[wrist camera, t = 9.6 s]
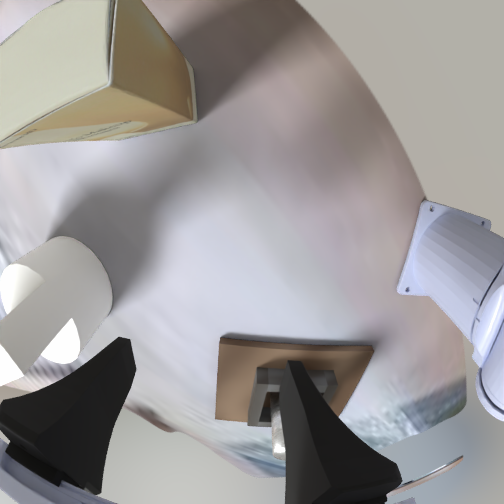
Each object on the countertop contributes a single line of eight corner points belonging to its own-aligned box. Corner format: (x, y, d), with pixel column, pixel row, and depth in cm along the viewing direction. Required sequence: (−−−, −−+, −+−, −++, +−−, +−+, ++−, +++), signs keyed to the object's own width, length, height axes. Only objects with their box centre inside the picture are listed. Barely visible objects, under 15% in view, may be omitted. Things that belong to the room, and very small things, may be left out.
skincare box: (117, 142, 16) (-23, 160, 5) (112, 87, 15) (-19, 58, 3) (203, 123, 16) (112, 87, 5) (197, 64, 15) (118, -34, 3)
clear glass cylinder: (301, 377, 23) (311, 439, 17) (310, 397, 24) (319, 454, 18) (264, 387, 24) (267, 448, 17) (276, 406, 25) (279, 463, 18)
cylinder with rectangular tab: (77, 334, 23) (19, 416, 12) (27, 263, 20) (-51, 325, 9) (131, 305, 21) (63, 413, 10) (72, 216, 18) (-38, 281, 7)
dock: (371, 345, 23) (381, 365, 20) (333, 417, 27) (337, 435, 25) (220, 337, 22) (216, 360, 20) (215, 413, 27) (213, 433, 24)
